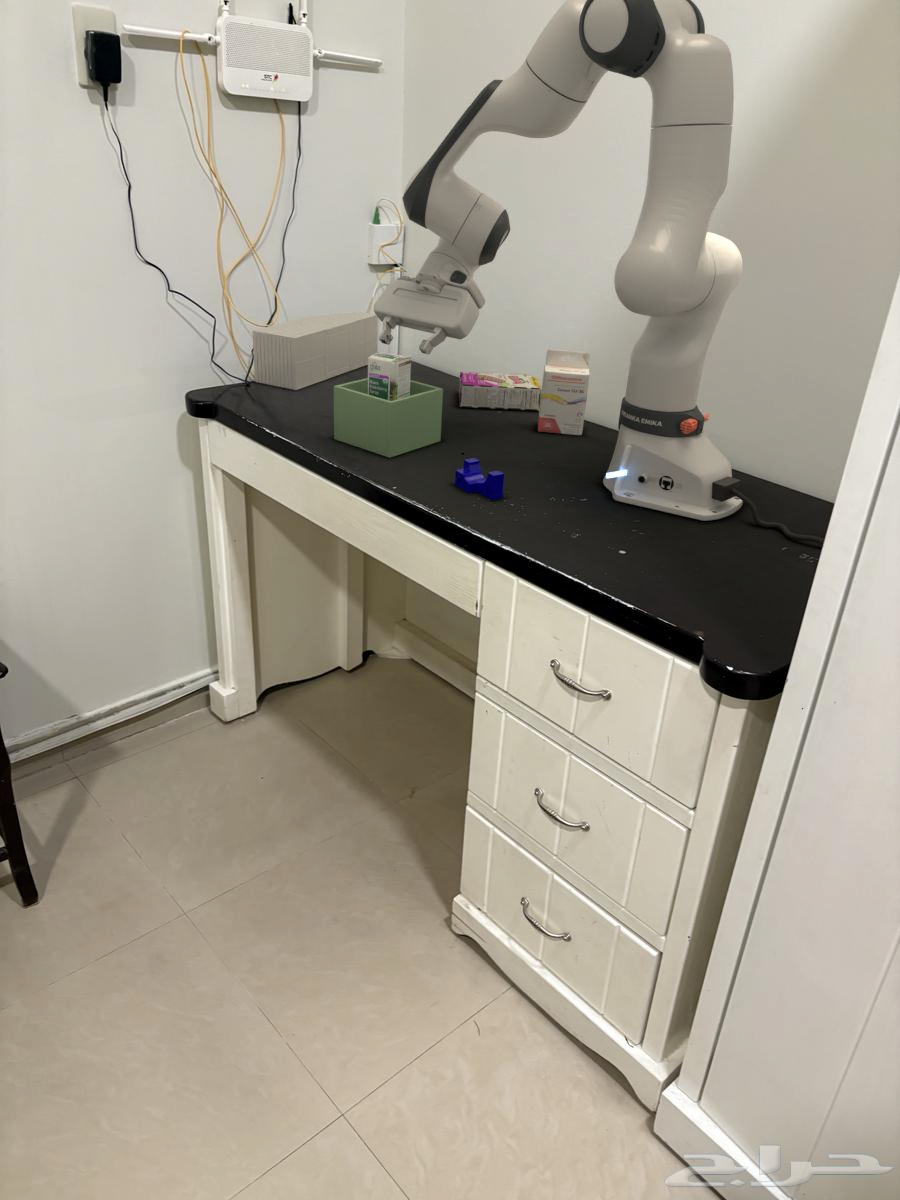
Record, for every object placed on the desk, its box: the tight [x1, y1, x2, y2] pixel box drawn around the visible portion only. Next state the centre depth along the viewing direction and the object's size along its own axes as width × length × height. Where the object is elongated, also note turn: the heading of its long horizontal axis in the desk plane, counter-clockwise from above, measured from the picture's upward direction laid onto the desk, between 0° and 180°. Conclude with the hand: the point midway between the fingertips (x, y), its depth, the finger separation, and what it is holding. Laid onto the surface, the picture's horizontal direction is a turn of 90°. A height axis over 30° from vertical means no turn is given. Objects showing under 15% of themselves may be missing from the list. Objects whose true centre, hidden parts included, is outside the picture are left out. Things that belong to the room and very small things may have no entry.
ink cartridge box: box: [537, 348, 591, 436], centre depth 175 cm, size 9×5×15 cm, turn 84°
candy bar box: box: [458, 371, 542, 412], centre depth 192 cm, size 11×5×16 cm
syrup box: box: [367, 351, 412, 401], centre depth 164 cm, size 6×6×14 cm
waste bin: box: [333, 377, 444, 459], centre depth 165 cm, size 14×14×10 cm
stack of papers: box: [251, 311, 379, 391], centre depth 206 cm, size 32×11×11 cm
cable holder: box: [454, 457, 505, 501], centre depth 146 cm, size 8×4×4 cm, turn 34°
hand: (403, 346), depth 162 cm, fingers open, 8 cm apart
